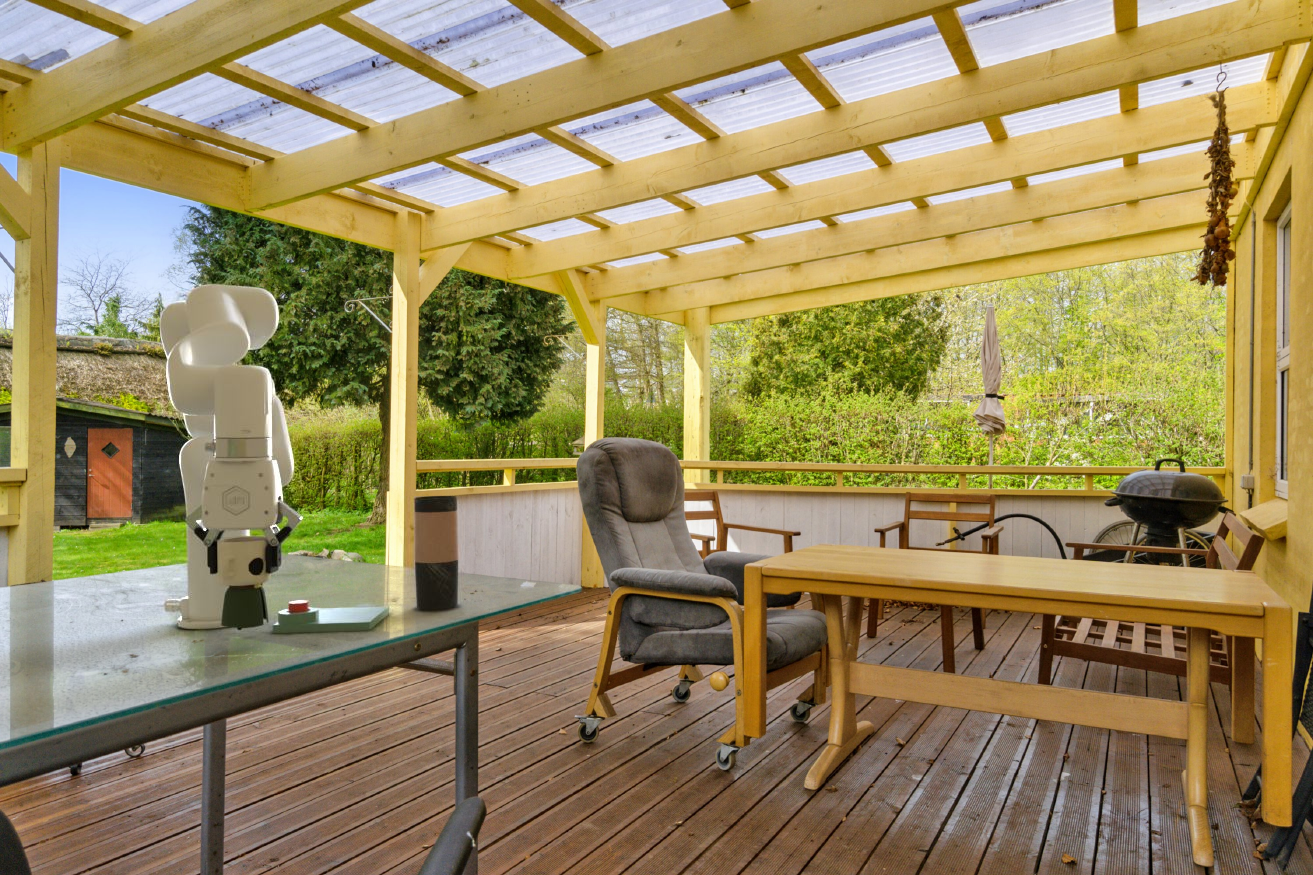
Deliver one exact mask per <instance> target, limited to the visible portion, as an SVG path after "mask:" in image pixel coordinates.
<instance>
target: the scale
mask: <svg viewBox="0 0 1313 875" xmlns="http://www.w3.org/2000/svg"><path fill="white" fill-rule="evenodd" d="M389 614H390V606H384V605H383V606H353V607H351V606H350V607H320V608H319V607H313V606H309V611H306V612H300V613H289V608H286V609H281V610H280V611H278V613H277V620H278V621H277V622H275V623H274V624H272V633H273V634H286V633H288V634H289V633H290V634H291V633H321V632H322V633H323V632H354V631H371V630H372V629H373V628H374V627H375V626H376V625H378V624H379V623H380V622H381V621H382V620H383V619H385V618H386V617H387V616H388V615H389Z"/></svg>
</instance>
